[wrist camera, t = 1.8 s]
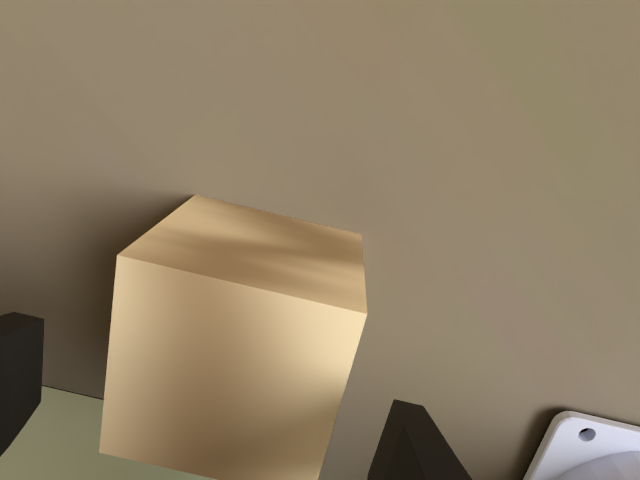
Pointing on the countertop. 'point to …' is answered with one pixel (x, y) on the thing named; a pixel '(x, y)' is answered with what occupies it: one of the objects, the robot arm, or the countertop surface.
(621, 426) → the robot arm
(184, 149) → the countertop surface
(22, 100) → the countertop surface
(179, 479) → the sage tote
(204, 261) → the maple cube
